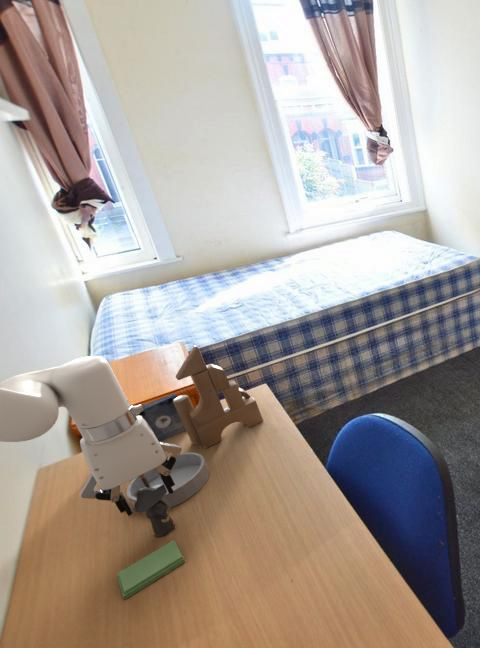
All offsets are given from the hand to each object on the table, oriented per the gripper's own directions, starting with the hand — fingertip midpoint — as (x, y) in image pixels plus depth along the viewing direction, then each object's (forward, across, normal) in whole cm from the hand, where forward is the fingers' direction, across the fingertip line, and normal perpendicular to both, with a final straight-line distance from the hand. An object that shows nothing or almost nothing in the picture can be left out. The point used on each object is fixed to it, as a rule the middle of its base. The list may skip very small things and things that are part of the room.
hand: (149, 500), depth 89 cm
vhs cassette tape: (+7, -4, -36) cm, 37 cm away
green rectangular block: (+7, +4, +10) cm, 13 cm away
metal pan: (+7, -4, -12) cm, 15 cm away
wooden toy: (+7, -19, -24) cm, 32 cm away
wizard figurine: (+7, 0, 0) cm, 7 cm away
